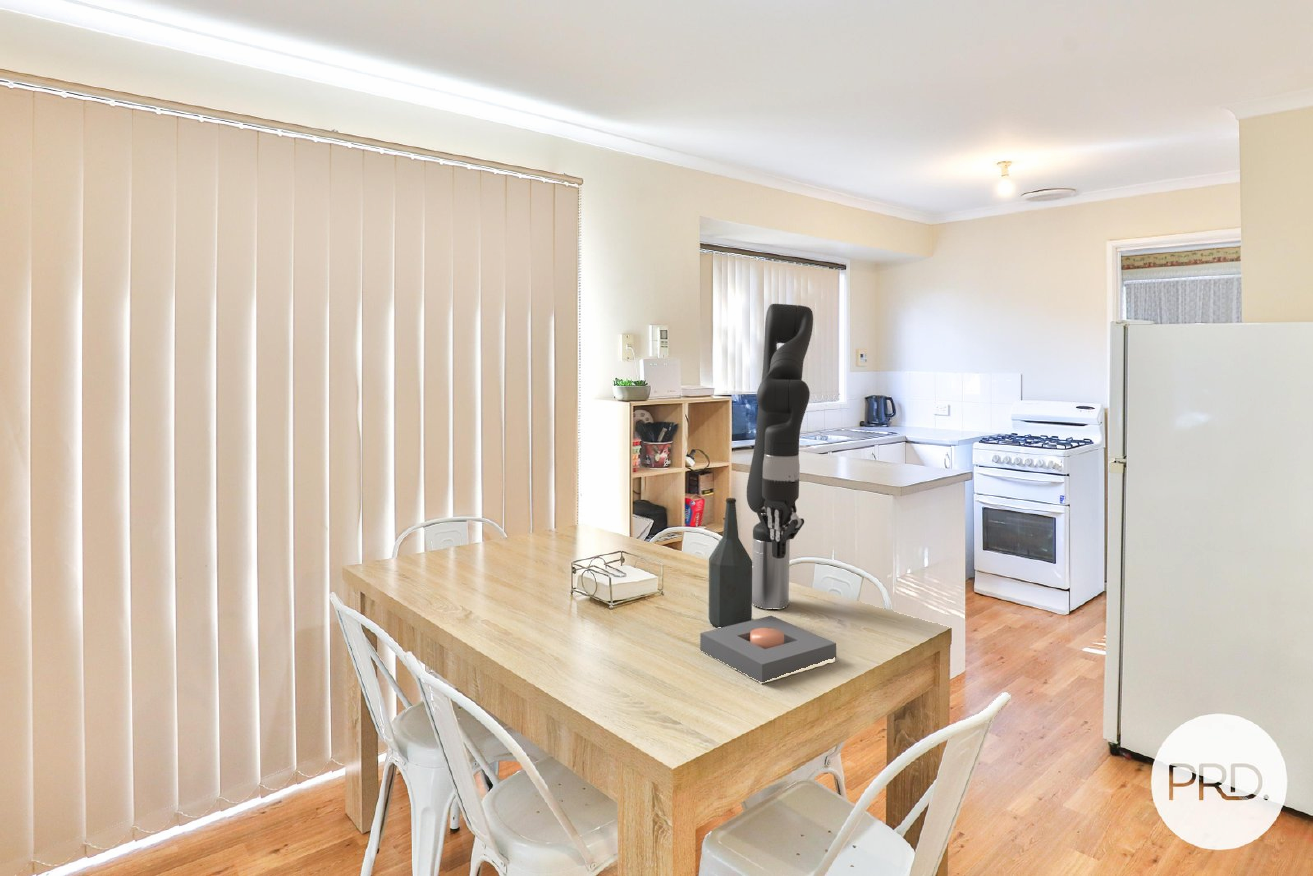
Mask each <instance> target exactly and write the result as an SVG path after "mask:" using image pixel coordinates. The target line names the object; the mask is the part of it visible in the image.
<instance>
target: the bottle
mask: <svg viewBox="0 0 1313 876" xmlns="http://www.w3.org/2000/svg"><path fill="white" fill-rule="evenodd" d="M725 502H726V503H725V513H724V521H723V532H722V538H720V540H719V542H718V544H717V545H716V546H715V549H714V550H713V551H712V552H711V555H710V556H709V558H708V620H709V623H710V624H712V625H714V626H716V627H715V628H717V627H721V628H722V627H727V626H731V625H735V624H739V623H743V622H747V621H751V620H753V619H752V618H753V617H752V616H753V604H752V565H753V559H751V557H750V555H749V553H748V551H747V549H746V548H745V546H744V544H743V543H742V541H741V540H740V538H739V527H738V517H737V508H736V507H737V506H736V503H737V499H736V498H734V497H726V499H725ZM712 625H711V626H712ZM714 626H713V627H714Z"/></svg>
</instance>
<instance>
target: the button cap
mask: <svg viewBox="0 0 1313 876" xmlns="http://www.w3.org/2000/svg"><path fill="white" fill-rule="evenodd" d="M750 642H751V643H753V644H755V645H757V646H759V647H761V648H763V649H768V648H771V647H775V646H779V645H782V644H784V633H783V632H782V631H780V630H777V629H772V628H758V629H754V630H752V631H751V632H750Z"/></svg>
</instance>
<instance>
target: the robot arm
mask: <svg viewBox="0 0 1313 876" xmlns="http://www.w3.org/2000/svg"><path fill="white" fill-rule="evenodd" d="M813 326H814V313H813V310H812V309H811V308H810V307H808V306H806V305H801V304H799V305H798V304H786V303H785V304H784V303H771V304H770V305H769V306H768V308H767V311H766V315H765V321H764V338H763V339H764V341H763V362H762V374H761V382H760V384H759V386H758V388H757V391H756V404H757V405H758V406H757V416H756V431H755V439H754V446H753V453H752V457H751V458H752V459H751V464H750V468H749V473H748V478H747V483H746V485H747V486H746V502H747V505H748V507H749V509H750V510H751V511H752V512H753V513H756V514H757V516H758V519H759V522H758V523H756V524H755V525H754V526H753V529H752V605H753V604H754V605H756V606H758V607H762V608H772V609H773V608H783V607H786V606H787V605H788V604H790V602H789V601H790V553H791V552H790V547H791V546H790V545H791V542H790V540H793V539H794V538H795V537H796V536H797V534H799V533H798V532H799V531H800V530H801V528H802V527H803V526H804V524H805V520H804V518H803V517H802V518H800V517H799V515H797V506H796V501H797V500H798V499H799V497H800V471H801V470H800V468H801V467H800V434H801V428H802V423H803V420H804V417H805V413H806V411H807V408H808V404H809V401H810V395H811V393H810V391H811V390H810V388H809V386H808V384H807V383H806V382H805V381H804V380H803V371H804V361H805V357H806V354H807V352H808V349H809V345H810V342H811V339H812V334H813V328H814V327H813ZM777 344H782V345H781V346H780V347H778V345H777ZM754 605H753V606H754ZM788 606H789V605H788ZM758 607H757V608H758ZM786 608H787V607H786Z"/></svg>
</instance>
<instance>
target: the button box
mask: <svg viewBox="0 0 1313 876" xmlns="http://www.w3.org/2000/svg"><path fill="white" fill-rule="evenodd" d="M758 628H772V629H777V630H780V631H782V632H783V633H784V644H782V645H779V646H775V647H771V648H768V649H763V648H761V647H759V646H757V645H755V644H753V643H751V642H750V632H751V631H752V630H754V629H758ZM699 635H700V636H699V637H700V638H699V640H700V642H699V643H700V644H699V646H700V647H699V649H700V650H701V651H703V652H705V653H707V654H708V655H707V654H706V655H707V656H709V655H711V656H712V657H714V658H716V659H719V660H720V661H722V662H724V663H725V664H728V665H729V666H731V667H733V668H736V669H737V670H739V671H741V672H742V673H745V674H747V675H748V676H749V677H752V678H754V679H756V680H758V681H760V682H765V681H767V680H770V679H772V678H777V677H779V676H781V675H784V674H786V673H791V672H794V671H796V670H799V669H801V668H806V667H808V666H810V665H813V664H818V663H820V662H822V661H825V660H828V659H833V658H834V657H836V658H837V642H835V641H833V640H831V639H828V638H825V637H823V636H821V635H818V634H816V633H813V632H812V631H808V630H806V629H804V628H803V627H800V626H797V625H794V624H792V623H790V622H787V621H785V620H783V619H781V618H778V617H775V616H773V615H769V616H764V617H760V618H755V619H752V620H751V621H747V622H743V623H739V624H735V625H731V626H727V627H722V628H714V629H711V630H707V631H702V632H700V633H699ZM701 651H700V652H701ZM703 652H702V653H703ZM705 653H704V654H705ZM712 657H711V658H712ZM714 658H713V659H714ZM716 659H715V660H716ZM720 661H719V662H720ZM725 664H724V665H725ZM729 666H728V667H729ZM731 667H730V668H731ZM742 673H741V674H742ZM749 677H748V678H749Z"/></svg>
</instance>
